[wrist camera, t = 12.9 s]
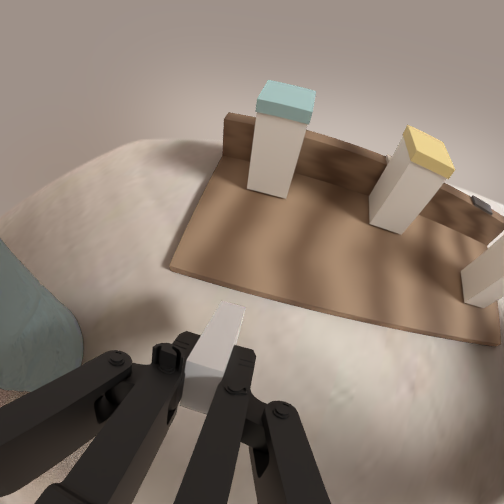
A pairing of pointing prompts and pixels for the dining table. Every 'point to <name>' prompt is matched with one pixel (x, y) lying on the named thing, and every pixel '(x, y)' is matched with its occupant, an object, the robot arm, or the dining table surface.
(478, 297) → the button
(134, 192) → the dining table surface
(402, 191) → the middle button
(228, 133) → the button console
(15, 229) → the dining table surface
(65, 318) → the blue-grey embossed cup
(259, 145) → the button
